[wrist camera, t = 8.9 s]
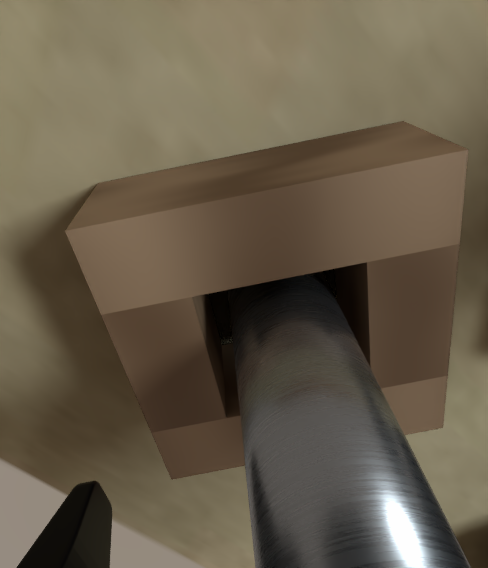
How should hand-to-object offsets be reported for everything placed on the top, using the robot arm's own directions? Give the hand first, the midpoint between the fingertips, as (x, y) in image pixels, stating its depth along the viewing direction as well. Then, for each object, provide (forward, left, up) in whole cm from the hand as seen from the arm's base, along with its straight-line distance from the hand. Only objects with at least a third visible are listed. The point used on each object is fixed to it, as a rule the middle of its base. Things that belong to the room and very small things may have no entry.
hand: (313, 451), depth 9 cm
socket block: (0, 0, -7) cm, 7 cm away
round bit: (0, 0, -7) cm, 7 cm away
